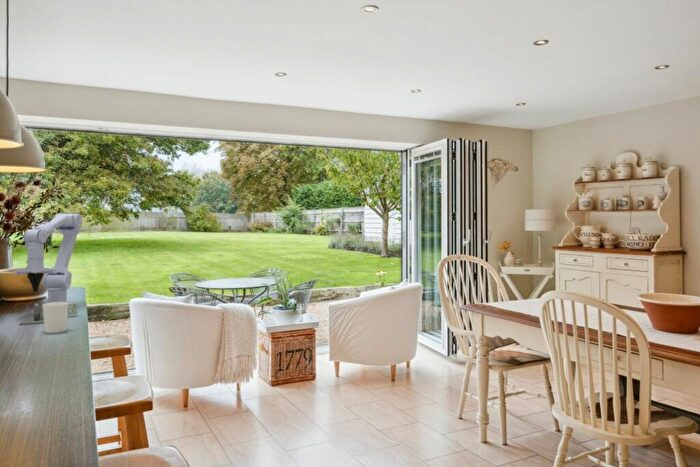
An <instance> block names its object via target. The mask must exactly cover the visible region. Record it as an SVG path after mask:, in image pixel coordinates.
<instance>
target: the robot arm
mask: <svg viewBox="0 0 700 467" xmlns="http://www.w3.org/2000/svg"><path fill="white" fill-rule="evenodd" d="M53 217H54V218H53V219H51V220H50V221H42V222H41V224H39V225H38V226H35V227H34V228H32V229H27V230H26V231H25V232H24V233H23V234H24V235H23V240H24V244H25V248H26V255H27V256H26V260H27V261H26V262H27V263H26V264H27V267H26V268H23V269H22V268H19V269H14V270H13V275H15V276H16V275H27V278H28V280H29V282H30V285H31V288H32V292H33V293H37V292H39V287H40V284H41V281H42V285H43V288H44V289H45V290H46V291H47V303H53V302H67V303H68V297H67V296H68V292H67V290H69V288H70V287H71V285H72V277H73V274H72V273H71V271H70V270H69V269H68V268H69V264H70V260H71V258H72V254H73V250H74V247H75V244H76V240H77V236H78V234H80V232H81V228H82V224H83V219H82V216H81V214H80V213H60V212H59V213H56V214H55V215H54V216H53ZM56 230H58V232H59V233H60V234H61V235H63V237H62V239H61V242H60V246H59V249H58V252H57V256H56V260H55V263H54V266H53V267H52V268H44V266H45V265H44V264H45V263H44V261H45V260H44V254H45V253H44V251H45V250H44V249H45V248H44V243H45V244H46V242H47V240H48V238H49V237H50V236H51V235H53V234H54V233H55V231H56Z"/></svg>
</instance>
